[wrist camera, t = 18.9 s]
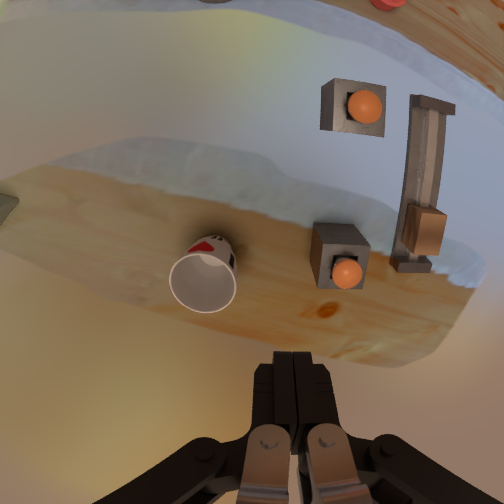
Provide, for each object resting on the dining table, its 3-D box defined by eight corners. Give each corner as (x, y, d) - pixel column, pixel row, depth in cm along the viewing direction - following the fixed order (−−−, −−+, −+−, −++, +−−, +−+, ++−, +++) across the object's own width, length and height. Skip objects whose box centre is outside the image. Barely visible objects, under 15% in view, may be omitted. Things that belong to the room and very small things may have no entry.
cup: (251, 240, 44) (248, 272, 35) (228, 284, 47) (219, 322, 38) (200, 215, 43) (183, 241, 34) (180, 261, 46) (160, 295, 37)
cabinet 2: (313, 222, 42) (323, 243, 35) (356, 224, 42) (373, 246, 35) (309, 261, 45) (317, 288, 37) (350, 262, 45) (365, 289, 37)
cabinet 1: (321, 86, 35) (334, 78, 27) (367, 92, 35) (389, 87, 27) (319, 129, 37) (332, 130, 30) (365, 134, 37) (387, 137, 30)
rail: (409, 94, 34) (420, 93, 31) (443, 103, 34) (455, 103, 31) (389, 263, 44) (397, 273, 41) (420, 264, 44) (429, 274, 41)
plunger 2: (340, 91, 30) (350, 87, 26) (369, 96, 30) (382, 93, 26) (339, 121, 31) (348, 121, 27) (368, 125, 31) (381, 125, 27)
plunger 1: (328, 246, 37) (335, 260, 34) (355, 247, 37) (364, 261, 34) (325, 272, 39) (331, 288, 35) (351, 272, 39) (359, 288, 35)
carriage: (408, 203, 39) (422, 212, 35) (432, 206, 39) (447, 215, 35) (401, 242, 42) (413, 254, 38) (425, 243, 41) (438, 255, 37)
